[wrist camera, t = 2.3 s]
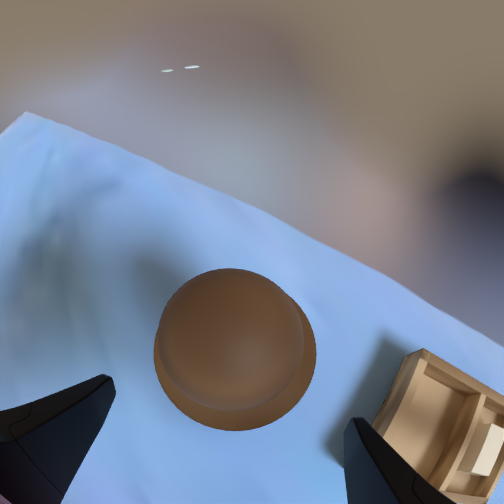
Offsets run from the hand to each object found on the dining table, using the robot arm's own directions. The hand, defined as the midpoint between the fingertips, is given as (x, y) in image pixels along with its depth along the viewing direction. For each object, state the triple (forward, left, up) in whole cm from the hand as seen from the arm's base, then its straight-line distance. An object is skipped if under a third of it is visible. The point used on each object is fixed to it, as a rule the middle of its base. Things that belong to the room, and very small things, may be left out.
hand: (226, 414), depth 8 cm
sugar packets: (+7, -21, -9) cm, 24 cm away
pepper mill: (+2, +1, -9) cm, 10 cm away
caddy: (+7, -17, -9) cm, 20 cm away
